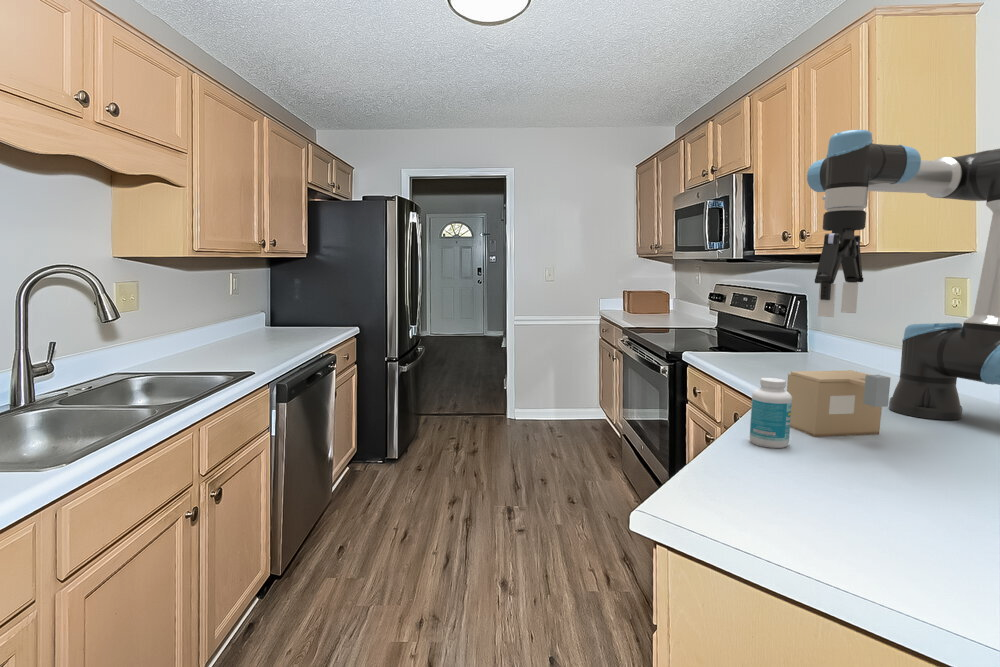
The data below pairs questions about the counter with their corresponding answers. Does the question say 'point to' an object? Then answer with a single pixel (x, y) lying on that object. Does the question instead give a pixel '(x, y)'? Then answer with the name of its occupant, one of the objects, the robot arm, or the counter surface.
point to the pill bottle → (771, 414)
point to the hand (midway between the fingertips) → (837, 314)
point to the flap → (874, 384)
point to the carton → (831, 408)
